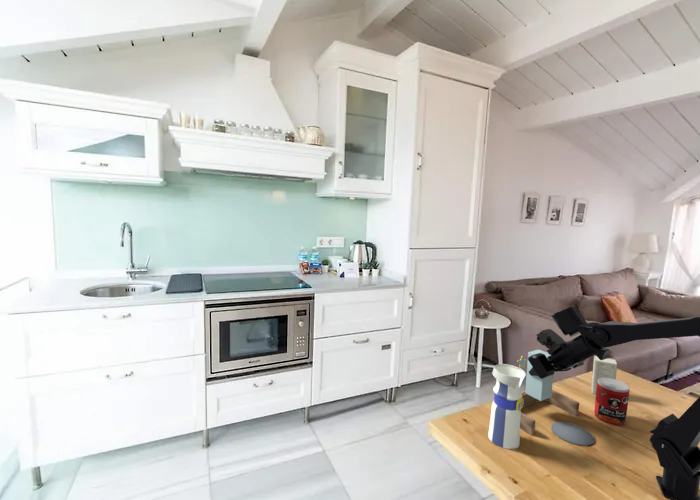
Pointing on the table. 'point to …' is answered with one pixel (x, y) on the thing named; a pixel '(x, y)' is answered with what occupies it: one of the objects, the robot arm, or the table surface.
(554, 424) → the coaster
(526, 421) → the u-shaped wooden frame
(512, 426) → the blue striped jug
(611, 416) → the canned food
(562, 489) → the table surface
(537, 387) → the block
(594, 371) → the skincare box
